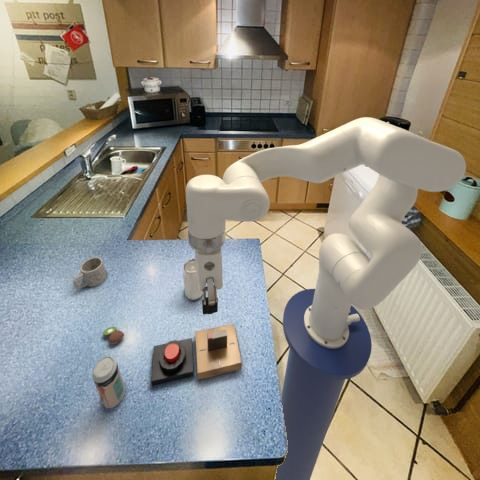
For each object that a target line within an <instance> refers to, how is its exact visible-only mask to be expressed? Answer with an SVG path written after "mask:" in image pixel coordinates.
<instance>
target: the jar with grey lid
mask: <svg viewBox="0 0 480 480" xmlns="http://www.w3.org/2000/svg"><path fill="white" fill-rule="evenodd" d="M120 371H121V370H120V368H119V365H118V362H117V359H116V358H115V357H113V356H104V357H102V358H101V359H99V360H98V361H97V363H96V364H95V365H94V367H93V370H92V373H91V375H92V380H93V383H94V386H95V388H96V390H97V392H98V395H99V397H100V400H101V403H102V405H103V406H104V407H105V408H107V409H111V408H114V407H116V406H117V405H119V404H120V403H121V401H122V400H123V398H124V396H125V393H126V388H125V384H124V381H123V377H122V375H121V374H122V373H121V372H120Z"/></svg>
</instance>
